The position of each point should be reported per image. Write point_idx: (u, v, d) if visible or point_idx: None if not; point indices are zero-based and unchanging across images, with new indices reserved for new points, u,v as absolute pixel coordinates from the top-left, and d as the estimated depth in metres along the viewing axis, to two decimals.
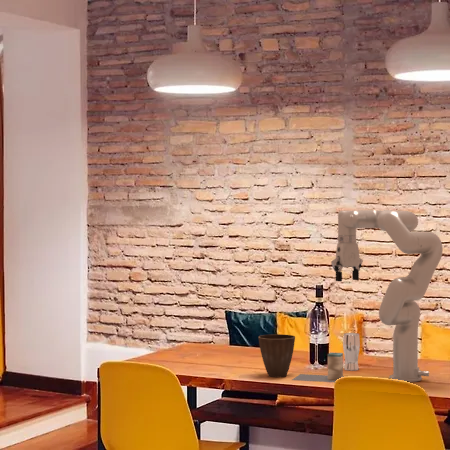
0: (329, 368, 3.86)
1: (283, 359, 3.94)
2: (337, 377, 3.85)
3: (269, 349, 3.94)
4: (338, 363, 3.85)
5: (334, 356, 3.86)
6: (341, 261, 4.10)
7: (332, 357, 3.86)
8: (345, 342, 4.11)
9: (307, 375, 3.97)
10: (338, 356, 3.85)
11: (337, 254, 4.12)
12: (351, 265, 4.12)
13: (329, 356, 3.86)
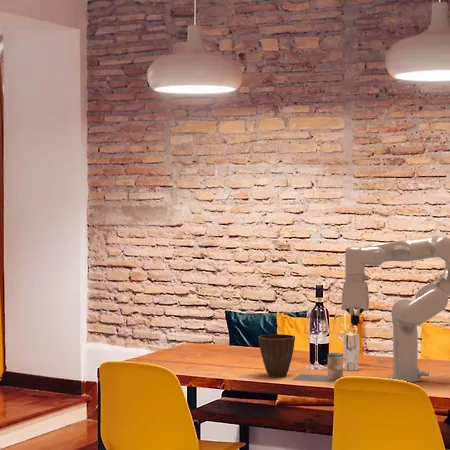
0: (329, 368, 3.86)
1: (283, 359, 3.94)
2: (337, 377, 3.85)
3: (269, 349, 3.94)
4: (338, 363, 3.85)
5: (334, 356, 3.86)
6: (368, 300, 3.85)
7: (332, 357, 3.86)
8: (345, 342, 4.11)
9: (307, 375, 3.97)
10: (338, 356, 3.85)
11: (367, 297, 3.83)
12: None
13: (329, 356, 3.86)
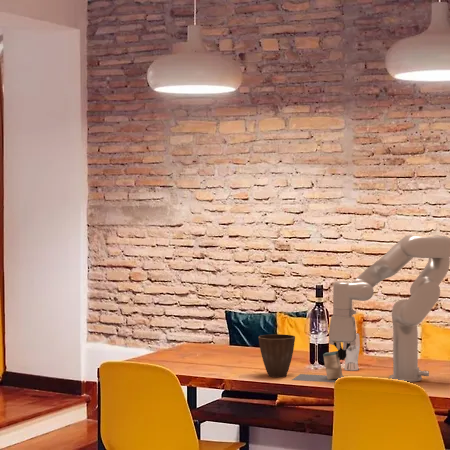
0: (327, 367, 3.87)
1: (283, 359, 3.94)
2: (336, 375, 3.86)
3: (269, 349, 3.94)
4: (335, 361, 3.86)
5: (330, 355, 3.86)
6: (355, 335, 3.87)
7: (328, 356, 3.86)
8: None
9: (307, 375, 3.97)
10: (333, 354, 3.86)
11: (354, 332, 3.85)
12: None
13: (325, 356, 3.87)
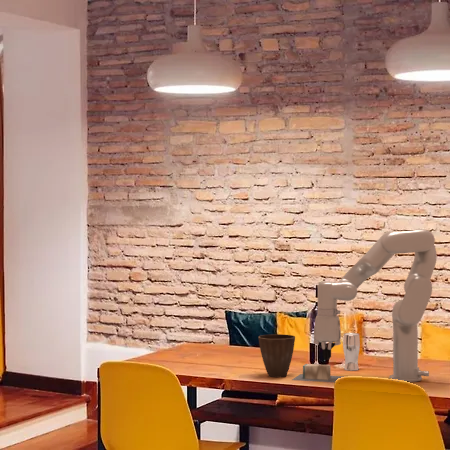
0: (316, 377, 3.88)
1: (283, 359, 3.94)
2: (324, 369, 3.87)
3: (269, 349, 3.94)
4: (311, 368, 3.89)
5: (304, 371, 3.90)
6: (340, 335, 3.89)
7: (305, 373, 3.90)
8: (345, 342, 4.11)
9: None
10: (304, 367, 3.90)
11: (339, 332, 3.87)
12: None
13: (304, 376, 3.90)
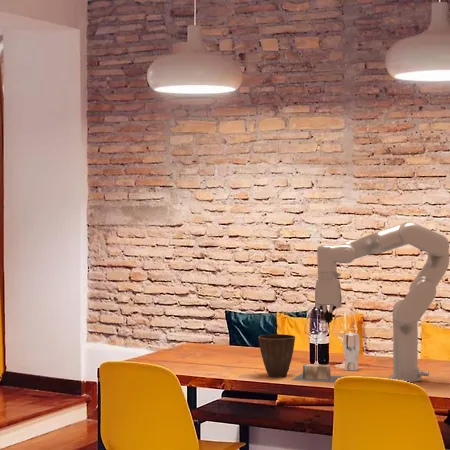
0: (316, 377, 3.88)
1: (283, 359, 3.94)
2: (324, 369, 3.87)
3: (269, 349, 3.94)
4: (311, 368, 3.89)
5: (304, 371, 3.90)
6: (341, 297, 3.91)
7: (305, 373, 3.90)
8: (345, 342, 4.11)
9: None
10: (304, 367, 3.90)
11: (340, 294, 3.89)
12: None
13: (304, 376, 3.90)
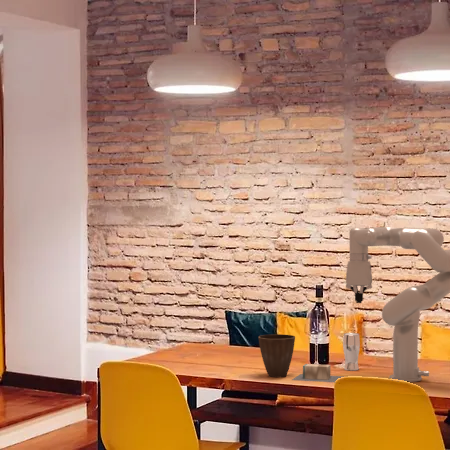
0: (316, 377, 3.88)
1: (283, 359, 3.94)
2: (324, 369, 3.87)
3: (269, 349, 3.94)
4: (311, 368, 3.89)
5: (304, 371, 3.90)
6: (371, 279, 4.03)
7: (305, 373, 3.90)
8: (345, 342, 4.11)
9: None
10: (304, 367, 3.90)
11: (370, 276, 4.00)
12: None
13: (304, 376, 3.90)
